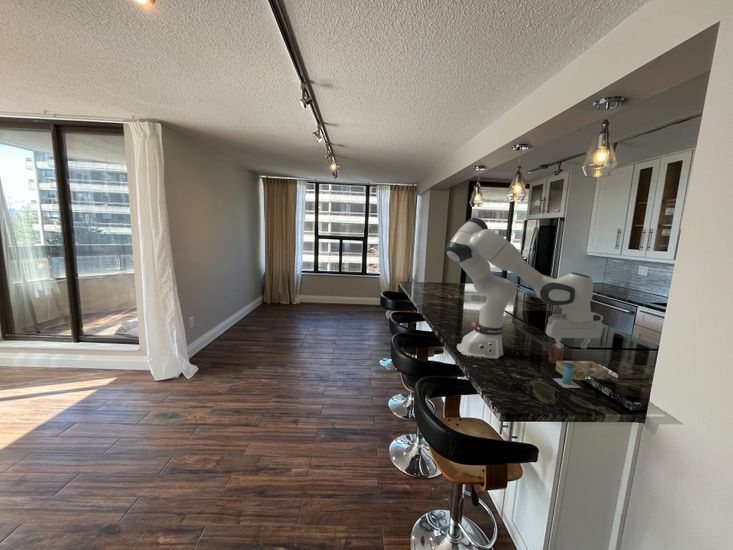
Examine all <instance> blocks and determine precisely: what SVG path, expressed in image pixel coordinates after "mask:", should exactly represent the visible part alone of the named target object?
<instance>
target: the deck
mask: <svg viewBox="0 0 733 550" xmlns="http://www.w3.org/2000/svg"><path fill="white" fill-rule="evenodd" d="M562 379H563V378H553V380H554V381H555V382H556V383H557V384H559V385H560V386H561V387H562V388H564V389H565V388H567V389H568V388H569V389H570V388H571V389H572V388H573V389H574V388H575V389H577V388H578V389H579V388H580V389H581V388H582V387H581V386H580V385H578V384H577V383H576V382H574V380H572V381H571V385H566V384H564V383H562Z"/></svg>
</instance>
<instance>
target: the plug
mask: <svg viewBox="0 0 733 550" xmlns="http://www.w3.org/2000/svg"><path fill="white" fill-rule="evenodd" d="M573 368H574V365H573V364H571V363H564V372H563V375H562V378H561V379H562V383H564V384H566V385H571V381H573V380H572V373H573Z"/></svg>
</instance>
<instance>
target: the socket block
mask: <svg viewBox="0 0 733 550" xmlns="http://www.w3.org/2000/svg"><path fill="white" fill-rule="evenodd" d="M564 363H571V364H573V365H574V368H573V373H572V381H586V380H585V377H586V376H587V375H588V376H589V375H590V376H594V377H598V378H609V372H610V371H609V370H608V369H606V368H604V367H603V366H601V365H599V364H598V363H596V362H594V361H592V360H561V361H557V362H556V363H555V371H556V372H558V373H559V374H560V375H562V376H563V372H564Z"/></svg>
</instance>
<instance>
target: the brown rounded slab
mask: <svg viewBox="0 0 733 550" xmlns="http://www.w3.org/2000/svg"><path fill="white" fill-rule="evenodd" d="M562 344H563V348H557V342H556V343H554V344H552V345H551V346H550V347H549V350H548V359H547V361H548V363H551V364H553V365H556V362H557V361H563V359H564V356H565V352H566V351H565V350H566V348H565V343H562Z"/></svg>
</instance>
